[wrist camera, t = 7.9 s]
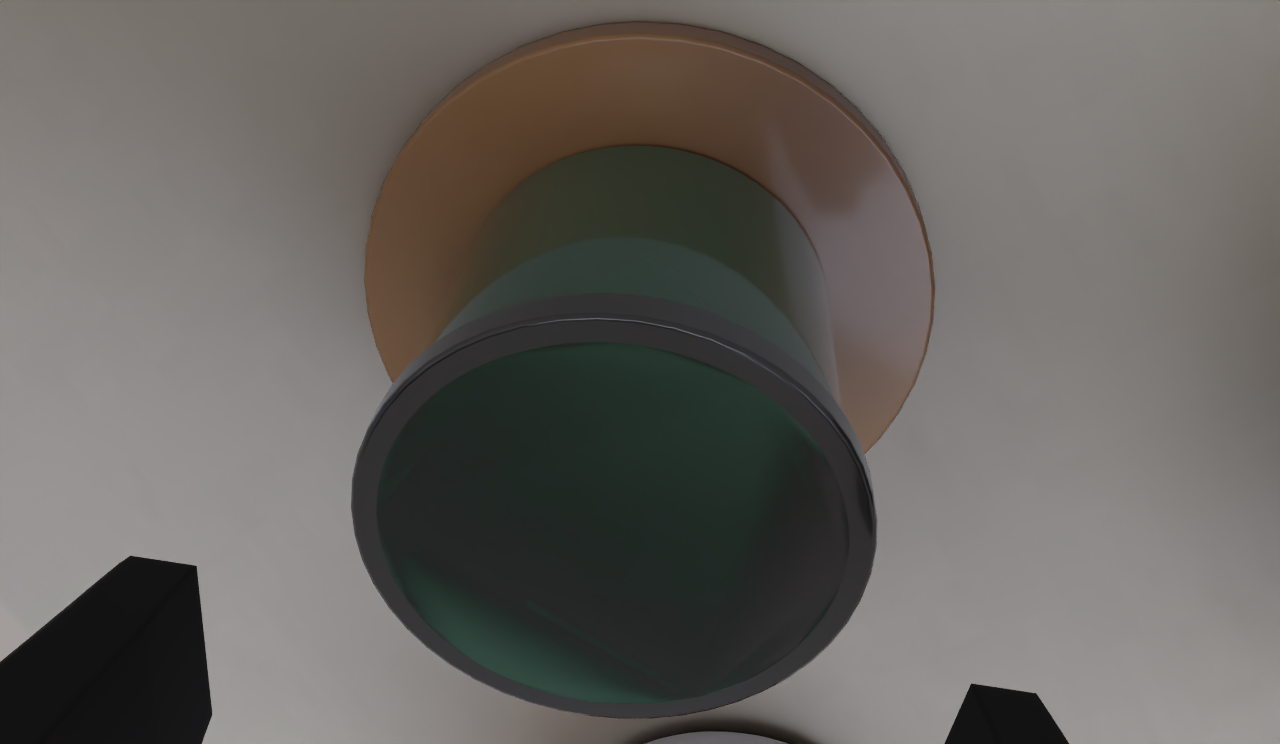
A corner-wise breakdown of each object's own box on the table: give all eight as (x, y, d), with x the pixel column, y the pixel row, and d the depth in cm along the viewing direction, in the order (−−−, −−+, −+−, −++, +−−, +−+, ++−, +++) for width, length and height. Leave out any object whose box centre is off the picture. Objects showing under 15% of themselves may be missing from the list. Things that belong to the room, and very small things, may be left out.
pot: (405, 399, 18) (302, 633, 13) (515, 62, 15) (425, 228, 10) (743, 517, 18) (745, 773, 14) (915, 221, 15) (981, 436, 11)
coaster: (322, 414, 19) (311, 435, 18) (459, -82, 14) (449, -72, 14) (782, 572, 20) (783, 596, 19) (1042, 159, 15) (1051, 177, 15)
